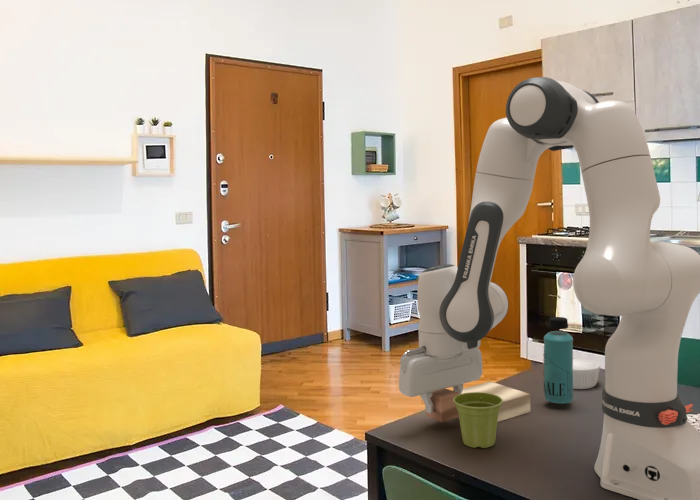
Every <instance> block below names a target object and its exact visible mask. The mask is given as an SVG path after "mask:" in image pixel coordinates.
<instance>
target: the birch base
mask: <svg viewBox="0 0 700 500" xmlns="http://www.w3.org/2000/svg"><path fill="white" fill-rule="evenodd" d="M470 392H482V393H489V394H494V395H497V396H499V397H501V398H502V399H503V403H502V404H501V405H500V410H499V413H498V420H497V423H499V422H502V421H504V420H508V419H512V418H515V417H519V416H522V415H525V414H528V413H531V394H530V393H528V392H525V391H522V390H518V389H515V388H512V387H509V386H507V385H506V386H505V385H502V384H500V383H497V382H494V381H488V382H483V383H479V384H475V385H472V386H471V385H470V386H467V387H463V391H462V393H461V394H463V393H470Z"/></svg>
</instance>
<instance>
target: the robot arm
mask: <svg viewBox="0 0 700 500" xmlns="http://www.w3.org/2000/svg"><path fill="white" fill-rule="evenodd" d="M505 116H506V117H503V118H499V119H497V120H495V121H494V122H492V123H491V125H490V126H489V127H488V129H487V132H486V134H485V137H484V139H483V143H482V146H481V150H480V153H479V157H478V161H477V166H476V170H475V174H474V175H475V176H474V181H473V182H474V183H473V190H472V197H471V198H472V199H471V206H470V211H469V216H468V224H467V228H466V232H465V235H464V236H465V237H464V239H463V244H462V248H461V253H460V257H459V260H458V261H459V262H458V266H457V265H455V264H451V263H449V264H441V265H436V266H434V267H430V268H425V269H424V270H423V271H421V273H420V275H419V277H418V281H417V283H418V284H417V296H416V297H417V311H418V313H419V314H418V315H419V323H418V347H416V348H413V349H412V348H411V349H408V350H405V352H404V353H403V354H402V355H401V356H400V360H399V362H400V364H399V366H400V367H399V375H398V376H399V378H398V390H399V392H400V393H401V394H402V395H404V396H407V397H409V398H414V397H418V396H419V397H420V399H421V400H422V401H423V403H424V407H425V408H424V409H425V413H426V412H428V413H433V412H436V404H435V403H432V401H431V399H430V397H432V392H434V391H438V390H441V389H449V388H452V391H454V392H457V393H459V394H461V393H462V391H463V388H464V385H465V384H467V383H471V382H476V381H479V380H480V379H481V377H482V375H483V357H482V351H481V349H480V347H481V344H482V343H481V340H482V339H484V337H486V336H487V335H488V334H489V332H490V331H491V330H492V329H493V328H495V327H496V326H497V325H499V323H501V322H502V321H503V319H505V317H506V316H507V314H508V311H509V299H508V295H507V293H506V292H505V291H504V289H503V288H502V287H501V286H500V285H498V283H495V282H492V276H493V273H494V268H495V264H496V259H497V255H498V251H499V248H500V244H501V243H502V240H503V239H504V237H506V236H505V235H506V234H507V233H508V232H509V231H510V229H511V228H512V227H513V225H515V224H516V223H517V221H519V220H520V219H521V217H522V216H524V213H525V212H526V209H527V206H528V203H529V201H530V198H531V195H532V192H533V186H534V183H535V181H534V180H535V178H536V177H535V176H536V173H537V172H536V171H537V167H538V162H539V159H540V157H541V155H542V154H543V153H544V152H545V151H546V150H550V151H552V152H556V151H561V150H565V149H572V148H574V150H575V152H576V154H577V157H578V161H579V167H580V173H581V176H582V180H583V186H584V191H585V197H586V201H587V207H588V213H589V232H588V241H587V245H586V250H585V253H584V255H583V257H582V258H581V260H580V261H579V263H578V264H577V266H576V267H575V270H574V272H573V278H572V283H573V284H572V286H573V291H574V294H575V297H576V299H577V300H578V302H579V304H580V305H582V307H583V308H584V309H586V310H587V311H589V312H591V313H593V314H597V315H603V316H610V317H611V316H614V317H621V318H620V321H619V323H618V326H617V327H616V329H615V331H614V332H613V333H612V335H611V336H610V337H609V338H608V340H607V341H606V344H605V347H604V387H603V388H602V390H601V391H602V394H601V411H602V415H603V424H602V425H603V426H602V433H601V441H600V445H599V450H598V455H597V458H596V461H595V463H594V467H593V468H594V472H595V473H596V475H598V477H599V478H600V487H601V488H603V489H605V490H608V491H610V492H613V493H617V494H621V495H623V496H627V497H630V498H633V499H637V500H700V431H699V430H698V429H697V428H696V427H694V425H693V424H692V423H690V422H689V421H688V415H687V413H690V412H692V411H693V410H694V408H693V409H692V407H693V406H694V404H693V403H689V404H687V405H684V404H683V402H682V400H681V398H680V395H679V394H678V364H679V362H678V361H679V349H680V345H681V339H682V336H683V332H684V328H685V326H686V323H687V319H688V317H689V313H690V310H691V308H692V306H693V303H694V302H695V300H696V299H697V297H698V296H699V295H700V254H699V252H697V251H696V250H695V249H693V248H691V247H689V246H684V245H681V244H676V243H671V242H655V243H651V227H652V219H653V217H654V215H655V214H656V212H657V211H658V209H659V208H660V205H661V195H660V190H659V187H658V182H657V178H656V173H655V170H654V166H653V161H652V157H651V156H652V155H651V152H650V148H649V145H648V142H647V139H646V136H645V134H644V133H645V132H644V131H643V129H642V126H641V123H640V121H639V119H638V116H637V115H636V112H635V111H634V109H633V107H632V106H631V105H629V104H628V103H627V102H626V101H625V102H624V101H621V100H615V99H614V100H613V99H611V100H610V99H609V100H603V101H599V100H598V98H596V96H594V95H593V94H592V93H590V92H589V91H586V90H584V89H581V88H579V87H577V86H575V85H574V84H571V83H569V82H566V81H562V80H558V79H554V78H550V77H546V76H537V77H530V78H526V79H524V80H522V81H521V82H519V83H518V84H517V85H515V87H514V88H513V89H512V90H511V92H510V94H509V95H508V97H507V101H506V104H505Z"/></svg>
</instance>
